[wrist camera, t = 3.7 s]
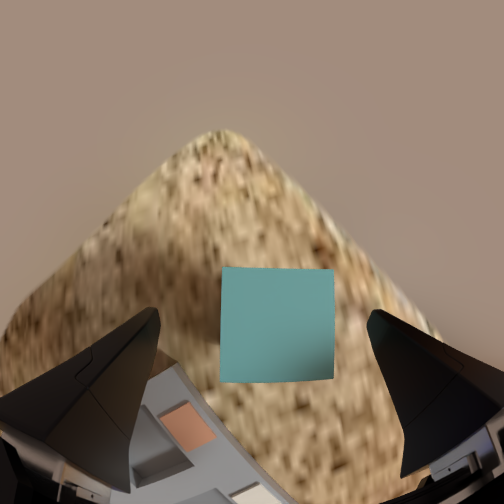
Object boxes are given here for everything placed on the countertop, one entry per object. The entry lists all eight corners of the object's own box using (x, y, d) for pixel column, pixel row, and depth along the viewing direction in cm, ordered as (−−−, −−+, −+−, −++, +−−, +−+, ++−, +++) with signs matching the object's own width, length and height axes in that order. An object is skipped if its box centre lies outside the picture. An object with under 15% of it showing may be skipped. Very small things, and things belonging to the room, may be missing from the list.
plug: (279, 348, 19) (334, 379, 8) (225, 348, 18) (218, 383, 8) (279, 296, 20) (334, 268, 9) (226, 295, 19) (220, 265, 9)
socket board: (298, 503, 15) (304, 517, 13) (169, 550, 13) (166, 563, 11) (177, 362, 18) (170, 367, 16) (55, 429, 15) (41, 436, 13)
